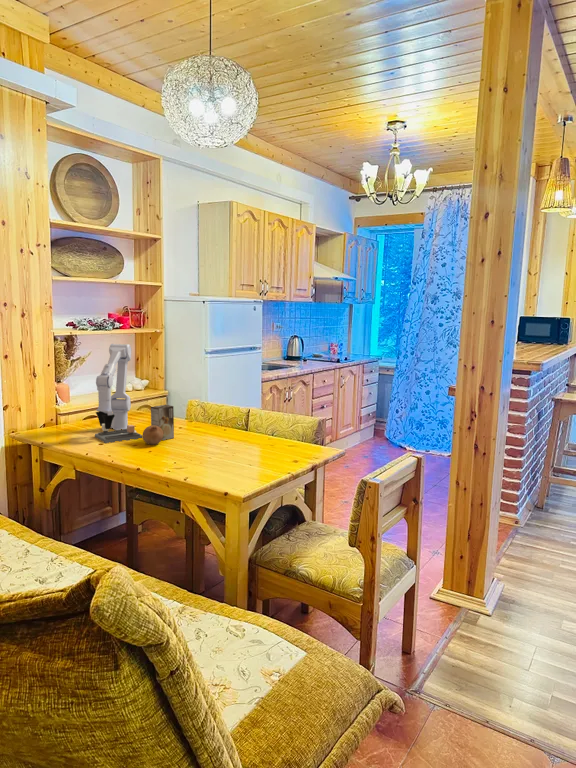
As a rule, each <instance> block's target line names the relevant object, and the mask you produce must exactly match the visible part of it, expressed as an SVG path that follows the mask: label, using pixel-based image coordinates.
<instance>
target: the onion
mask: <svg viewBox="0 0 576 768" xmlns="http://www.w3.org/2000/svg"><path fill="white" fill-rule="evenodd" d="M162 438H163V431H162V429H161V428H160V427H158V426H155V425H152V426H151V425H149V426H147V427H145V428H144V430H143V432H142V439H143V442H145V444H147V445H150V446H151V445H152V446H153V445H158V444H159V443H160V442H162V441H161V440H162Z"/></svg>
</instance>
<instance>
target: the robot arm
mask: <svg viewBox="0 0 576 768" xmlns="http://www.w3.org/2000/svg"><path fill="white" fill-rule="evenodd" d="M108 352H109V359H108V362H107V363H105V364H104V366H103V368H102V370H101V373H100V374H99V375H98V376H96V379H95V384H96V390H97V392H98V396H97V397H98V406H97V408H96V409H95V410H96V411H95V414H96V417H97V418H98V423H99V426H100V427H102V424H104V423H105V428H106V429H109V430H111V429H112V428H113V431H117V430H121V429H122V430H125V429H127V425H129V423H128V421H129V420H128V413H129V411H130V410H131V406H132V403H131V396H130V395H129V394H127V393H126V389H127V388H126V387H127V378H128V377H127V376H128V375H127V374H128V363H129V362H130V361H131V359H132V347H131V344H129V343H128V344H126V343H125V344H121V343H111V344H110V345H109V348H108ZM116 365H117V367H116ZM116 370H117V371H116ZM115 373H116V382H115V383H116V384H115V393H113V394H112V387H113V384H114V375H115Z"/></svg>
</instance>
